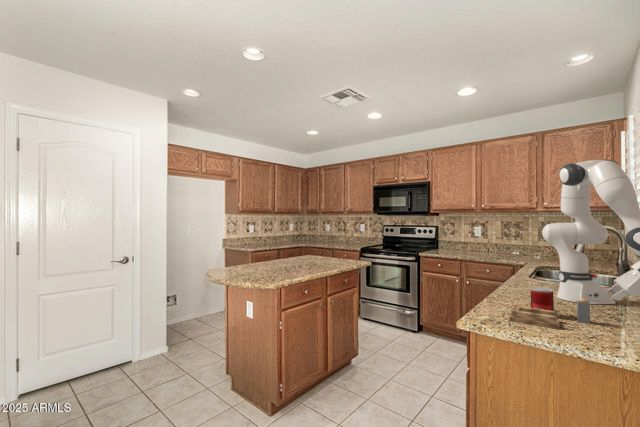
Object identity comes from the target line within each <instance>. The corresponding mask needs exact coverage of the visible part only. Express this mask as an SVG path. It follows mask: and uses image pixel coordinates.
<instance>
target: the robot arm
mask: <svg viewBox="0 0 640 427" xmlns="http://www.w3.org/2000/svg"><path fill="white" fill-rule="evenodd" d="M558 177H559V179H558V180H560V182H561V184H562V186H561V191H560V211H561V213H562V214H564V215H565V216H568V217H569V218H573V219H574V220H575V221H574V222H554V223H553V222H552V223H547V224H545V225H544V227H543V228H542V229H541V230H542V231H541V233H542V234H541V235H542V237H543V240H544V241H546V242H547V243H548V244H550V245H551V246H552V247H554V249H555V250H556V252H557V254H558V258H559V266H560V267H559V271H558V272H559V273H558V274H559V275H558V277H559V278H558V280H559V286H558V291H557V295H556V298H558V299H560V300H564V301H568V302H574V303H577V300H579V298H584V299H587V302H589V303H590V305H616V301H618V300H620V299H621V298H624V297H625V298H626V297H627V296H632V297H633V298H635V297H637V296H638V297H639V296H640V260H638V261H637V262H635V263H634V264H632V265H630V267H631V269H630V270H628V271H626V272H625V273H622V274H621V275H620V276H618V277H617V278H615V279H614V282H615V284H614V285H612V286H611V287H610V288H609V289H606V288H605V287H603V286H602V285H601V284H599V283H598V282H596V281H595V280H593V279H597V278H599V275H598V274H597V273H596V274H595V273H591V272H589V258H588V256H587V255H586V254H585V253H583V252H581V251H578V250H576V249H574V247H573V245H589V246H590V245H598V244H600V245H601V244H603V243H605V241H607V239H608V236H609V231H608V229H607V228H606V227H605V225H603V224H602V223H600V222H598V220H596V219H595V218H594V216H593V215H592V212H591V205H590V204H591V201H590V200H591V198H590V197H591V187H593V188H594V189H595V190H594V191H595V193H597V195H598V196H599V197H598V198H600V199H601V201H603V203H604V204H606V206H608V207H609V209H611V210H612V211H613V212H614V213H615V214H616V215H617V216H618V217H619V218H620V219H621V221H622V223H623V224H624V226H625V228H626V230H627V231H628V232H626V234H625V237H624V239H625V243H626V245H627V247H629V249H630V250H631V251H632V253H633V255H634V256H636V257H637V258H638V259H640V204H639V200H638V197H637V193H636V190H635V187H634V185H633V182H632V181H631V179H630V177H629V176H628V174H627V173H626V171H624V169H623V168H622V167H621V166H620V165H619V163H618V162H617V161H616V160H613V159H608V158H607V159H605V158H604V159H595V160H593V159H591V160H586V161H579V162H575V163H574V162H571V163H567V164H564V165H563V166H561V168H560V170H559V173H558ZM609 295H611V298H610V296H609Z"/></svg>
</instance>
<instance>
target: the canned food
mask: <svg viewBox="0 0 640 427" xmlns="http://www.w3.org/2000/svg"><path fill="white" fill-rule="evenodd" d="M554 298H555V297H554V289H553V288H548V287H545V286H543V287H542V286H532V287H530V308H535V309H542V310H549V311H554V310H555V309H554V304H555V303H554V301H555V300H554Z"/></svg>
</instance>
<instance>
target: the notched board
mask: <svg viewBox="0 0 640 427" xmlns="http://www.w3.org/2000/svg"><path fill="white" fill-rule="evenodd" d="M509 322H514V323H520V324H525V325H533V326H537V327H541V328H542V327H544V328H549V329H554V330H560V329H561V326H560V318H559V316H558V317H557V316H556V311H549V310H542V309H535V308H531V307H526V306H520V305H513V308H512V310H511V312H510V314H509Z"/></svg>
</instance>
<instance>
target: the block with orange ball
mask: <svg viewBox="0 0 640 427" xmlns="http://www.w3.org/2000/svg"><path fill="white" fill-rule="evenodd" d="M576 313H577V314H576V316H577V318H576V319H577V323H579V324H580V323H581V324H588V325H591V304H590V303H589V302H587V299H584V298H579V300H577V302H576Z"/></svg>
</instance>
